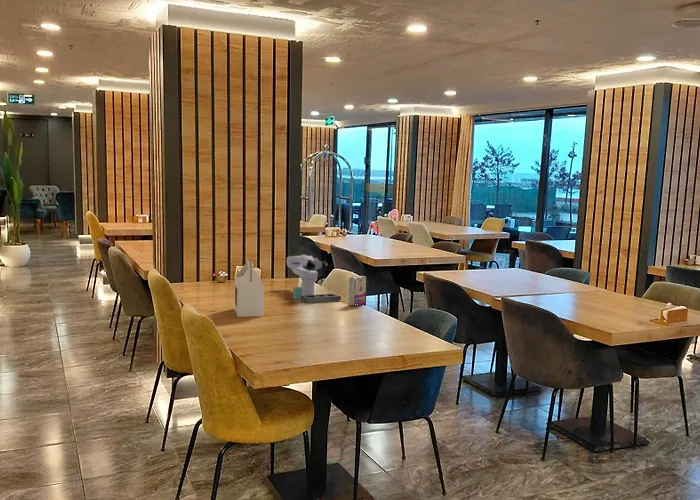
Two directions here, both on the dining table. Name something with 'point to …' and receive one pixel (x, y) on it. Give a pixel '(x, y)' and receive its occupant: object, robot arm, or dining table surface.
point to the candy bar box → (357, 290)
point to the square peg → (297, 292)
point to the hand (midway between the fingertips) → (320, 267)
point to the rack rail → (320, 298)
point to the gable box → (248, 292)
